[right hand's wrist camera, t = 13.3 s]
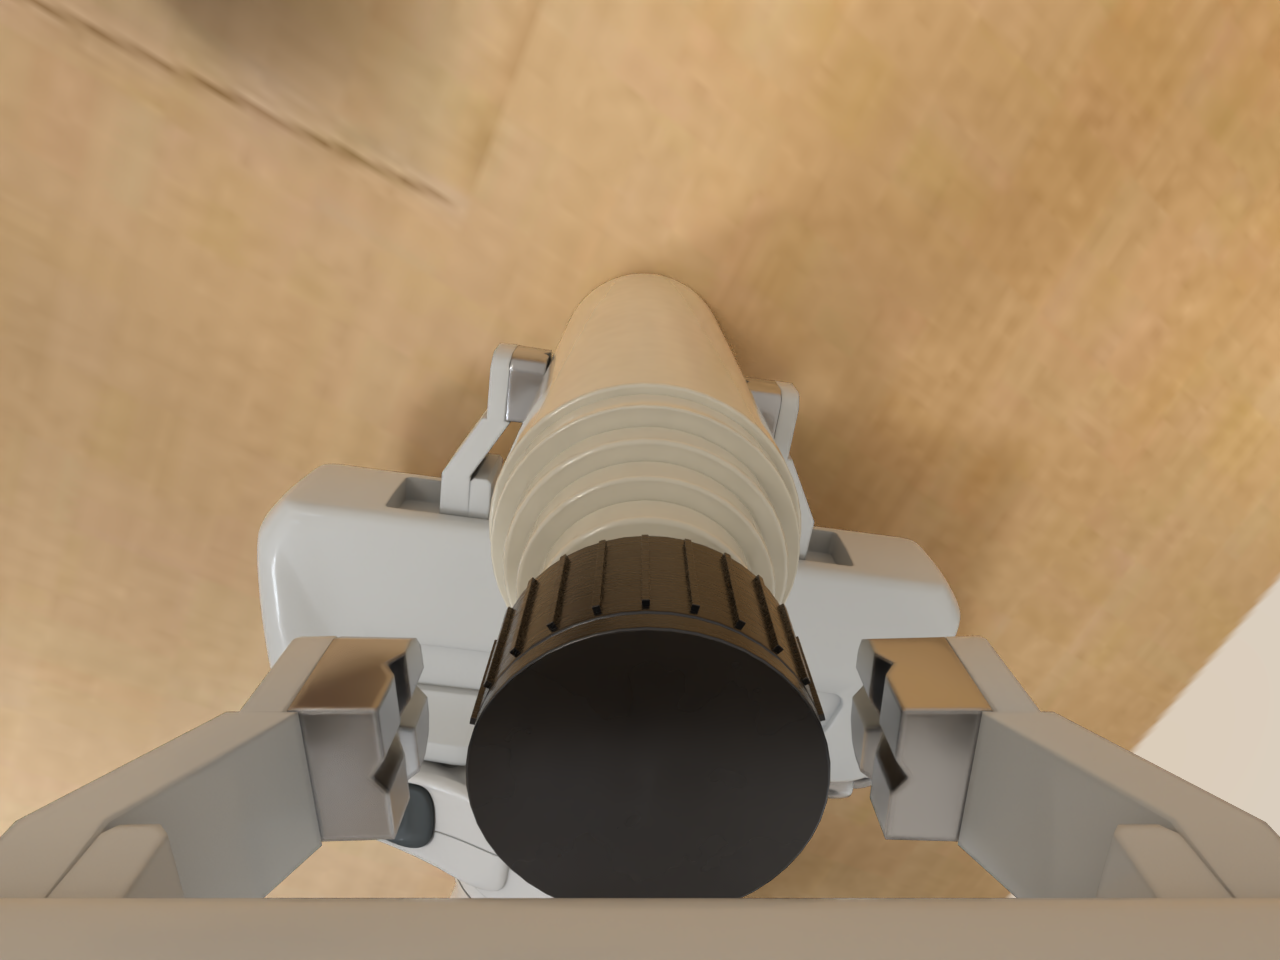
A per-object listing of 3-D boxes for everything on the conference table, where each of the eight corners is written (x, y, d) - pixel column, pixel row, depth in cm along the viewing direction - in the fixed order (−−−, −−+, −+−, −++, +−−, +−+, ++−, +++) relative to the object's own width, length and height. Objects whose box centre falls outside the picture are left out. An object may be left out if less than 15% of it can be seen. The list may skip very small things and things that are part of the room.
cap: (503, 513, 10) (466, 604, 8) (827, 548, 10) (873, 645, 8) (487, 774, 11) (453, 907, 9) (770, 801, 11) (797, 937, 9)
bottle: (569, 263, 26) (397, 504, 8) (735, 283, 27) (958, 564, 8) (556, 422, 28) (393, 921, 10) (710, 439, 29) (842, 960, 10)
